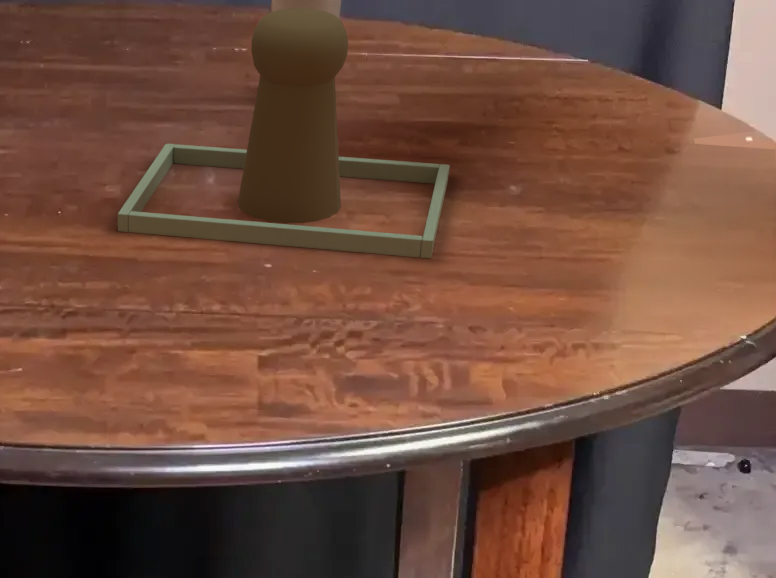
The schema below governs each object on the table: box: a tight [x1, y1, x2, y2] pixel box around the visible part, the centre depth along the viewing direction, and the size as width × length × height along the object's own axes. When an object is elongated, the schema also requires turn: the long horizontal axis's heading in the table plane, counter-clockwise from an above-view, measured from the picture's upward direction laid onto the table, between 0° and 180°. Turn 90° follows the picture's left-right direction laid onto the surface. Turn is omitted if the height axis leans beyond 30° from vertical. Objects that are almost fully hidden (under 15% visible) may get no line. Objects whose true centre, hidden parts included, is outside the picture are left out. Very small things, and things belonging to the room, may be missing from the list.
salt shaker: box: [269, 0, 342, 19], centre depth 104 cm, size 5×5×11 cm
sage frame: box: [117, 143, 451, 259], centre depth 87 cm, size 17×12×2 cm
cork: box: [237, 8, 349, 224], centre depth 84 cm, size 6×6×11 cm
